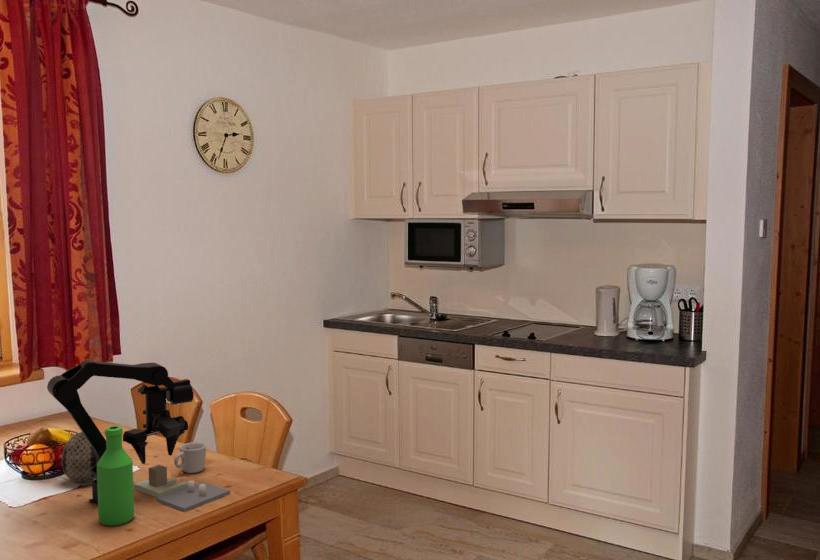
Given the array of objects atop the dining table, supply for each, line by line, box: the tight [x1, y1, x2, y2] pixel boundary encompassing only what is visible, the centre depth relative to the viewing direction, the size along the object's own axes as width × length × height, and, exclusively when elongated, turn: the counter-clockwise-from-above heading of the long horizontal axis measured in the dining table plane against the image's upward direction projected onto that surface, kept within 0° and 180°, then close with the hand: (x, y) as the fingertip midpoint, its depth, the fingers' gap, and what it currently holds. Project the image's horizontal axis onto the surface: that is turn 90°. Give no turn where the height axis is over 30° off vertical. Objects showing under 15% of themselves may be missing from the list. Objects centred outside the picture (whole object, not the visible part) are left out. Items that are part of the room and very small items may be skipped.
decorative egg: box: [61, 431, 98, 484], centre depth 227 cm, size 12×12×15 cm
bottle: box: [97, 425, 135, 527], centre depth 199 cm, size 9×9×25 cm
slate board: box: [156, 479, 231, 513], centre depth 216 cm, size 16×12×4 cm
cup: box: [173, 441, 207, 474], centre depth 236 cm, size 11×8×8 cm
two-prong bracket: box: [133, 464, 188, 499], centre depth 222 cm, size 10×12×7 cm
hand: (157, 459), depth 221 cm, fingers open, 9 cm apart
